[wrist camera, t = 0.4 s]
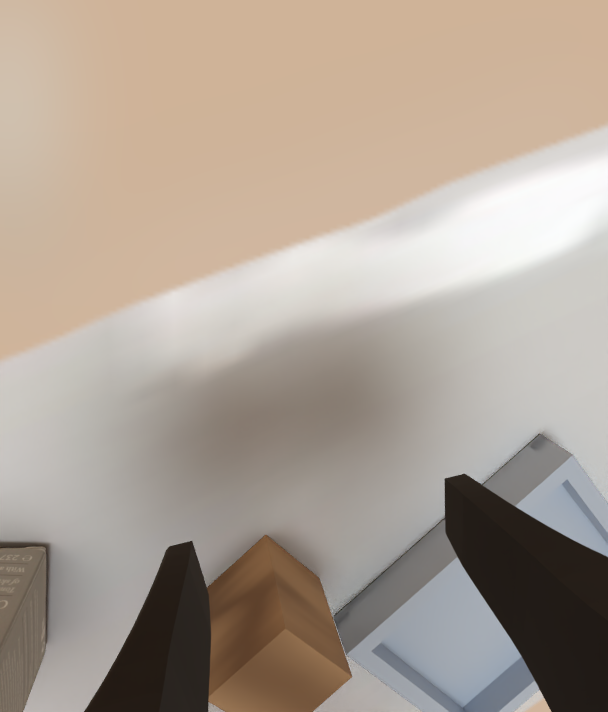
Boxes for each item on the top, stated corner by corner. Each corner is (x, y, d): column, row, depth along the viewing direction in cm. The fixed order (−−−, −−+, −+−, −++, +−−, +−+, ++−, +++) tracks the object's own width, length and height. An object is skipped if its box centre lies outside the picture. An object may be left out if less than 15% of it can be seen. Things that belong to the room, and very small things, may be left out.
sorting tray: (451, 709, 32) (471, 748, 29) (333, 617, 27) (346, 654, 25) (629, 554, 31) (664, 581, 29) (540, 433, 27) (573, 455, 24)
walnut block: (260, 630, 26) (277, 742, 21) (203, 589, 25) (205, 699, 19) (319, 577, 26) (352, 676, 21) (265, 534, 25) (285, 628, 19)
